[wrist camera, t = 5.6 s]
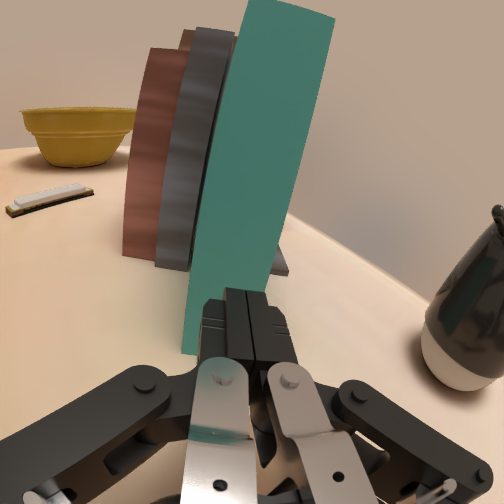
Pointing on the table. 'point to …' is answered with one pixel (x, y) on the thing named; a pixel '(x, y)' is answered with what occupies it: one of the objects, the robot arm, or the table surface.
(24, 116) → the planter bowl
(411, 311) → the table surface
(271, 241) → the teal book
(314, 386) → the robot arm
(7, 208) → the harmonica
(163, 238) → the book rack
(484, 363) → the black rounded cone
